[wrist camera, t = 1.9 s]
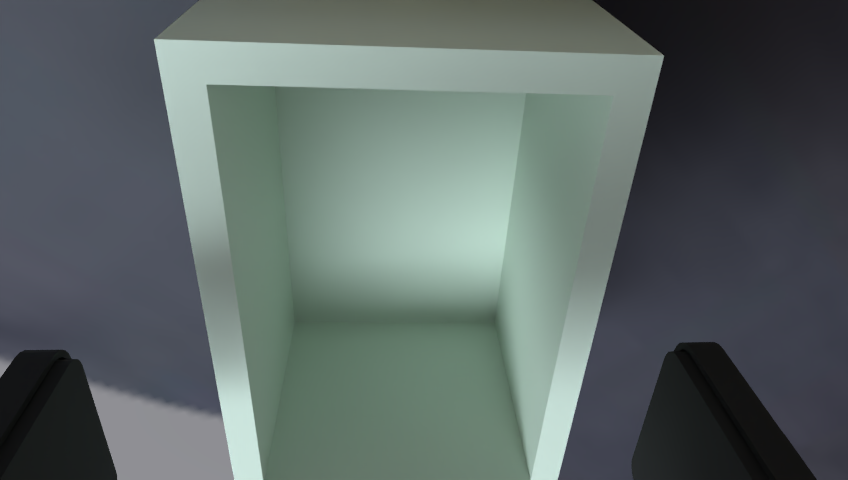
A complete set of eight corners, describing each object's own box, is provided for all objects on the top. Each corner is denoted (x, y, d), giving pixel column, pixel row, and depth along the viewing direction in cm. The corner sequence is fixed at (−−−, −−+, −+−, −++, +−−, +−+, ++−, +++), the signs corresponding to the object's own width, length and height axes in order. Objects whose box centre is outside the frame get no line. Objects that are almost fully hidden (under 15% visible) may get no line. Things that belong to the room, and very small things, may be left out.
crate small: (562, -23, 14) (664, 55, 9) (508, 324, 19) (552, 497, 14) (240, -36, 13) (153, 38, 8) (278, 324, 19) (238, 503, 14)
